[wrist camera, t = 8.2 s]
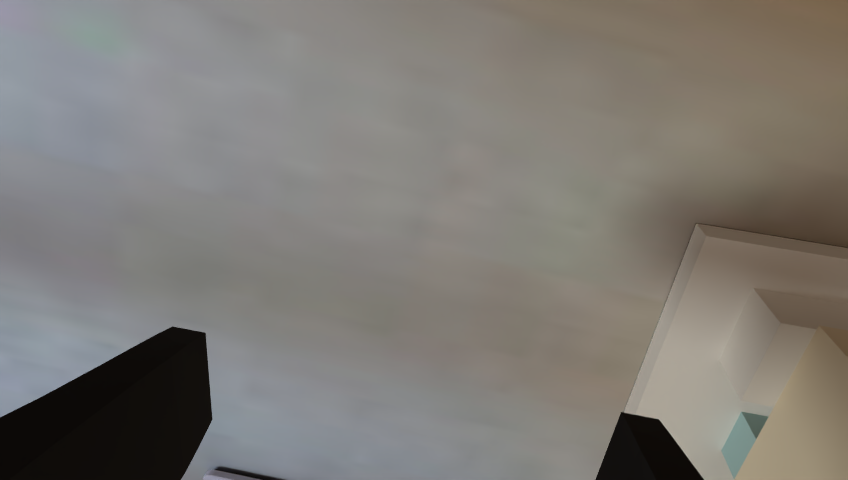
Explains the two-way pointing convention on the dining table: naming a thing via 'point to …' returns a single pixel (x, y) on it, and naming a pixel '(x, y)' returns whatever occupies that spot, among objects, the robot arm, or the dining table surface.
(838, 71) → the dining table surface
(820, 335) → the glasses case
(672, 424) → the display stand
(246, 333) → the dining table surface
